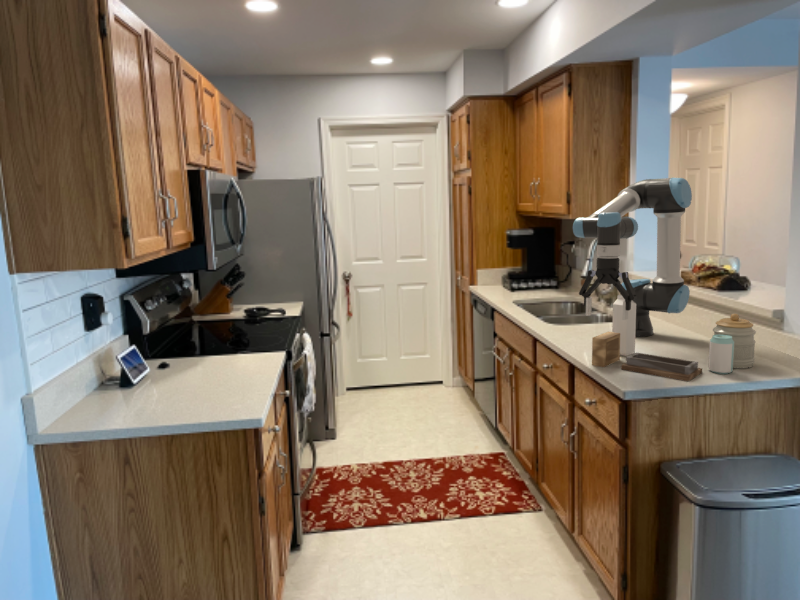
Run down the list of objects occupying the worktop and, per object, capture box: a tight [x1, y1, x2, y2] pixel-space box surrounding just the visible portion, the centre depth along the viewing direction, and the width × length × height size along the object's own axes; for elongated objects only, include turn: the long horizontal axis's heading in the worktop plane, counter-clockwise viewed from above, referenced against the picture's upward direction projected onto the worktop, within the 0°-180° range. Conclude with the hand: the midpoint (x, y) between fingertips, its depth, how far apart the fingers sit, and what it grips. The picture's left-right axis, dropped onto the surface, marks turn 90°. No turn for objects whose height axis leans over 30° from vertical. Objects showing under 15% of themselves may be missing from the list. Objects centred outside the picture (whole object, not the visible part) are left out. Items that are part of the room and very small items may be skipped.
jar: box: [712, 313, 757, 369], centre depth 203 cm, size 13×13×18 cm
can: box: [708, 334, 734, 375], centre depth 195 cm, size 7×7×12 cm
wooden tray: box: [620, 352, 703, 382], centre depth 199 cm, size 12×22×4 cm, turn 45°
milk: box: [611, 294, 636, 357], centre depth 222 cm, size 6×6×22 cm
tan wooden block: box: [591, 331, 621, 368], centre depth 211 cm, size 5×12×10 cm, turn 135°
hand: (606, 317), depth 209 cm, fingers open, 13 cm apart
